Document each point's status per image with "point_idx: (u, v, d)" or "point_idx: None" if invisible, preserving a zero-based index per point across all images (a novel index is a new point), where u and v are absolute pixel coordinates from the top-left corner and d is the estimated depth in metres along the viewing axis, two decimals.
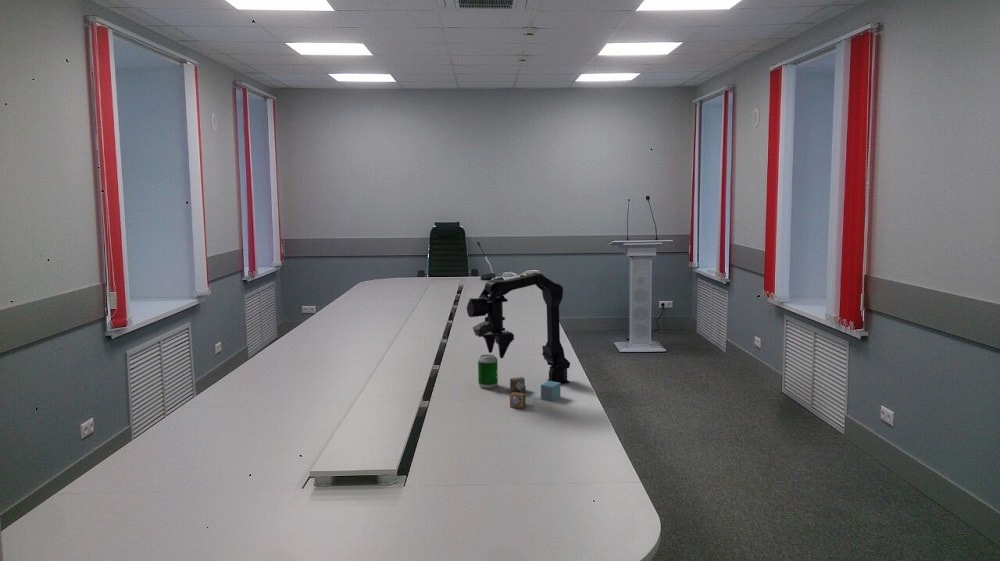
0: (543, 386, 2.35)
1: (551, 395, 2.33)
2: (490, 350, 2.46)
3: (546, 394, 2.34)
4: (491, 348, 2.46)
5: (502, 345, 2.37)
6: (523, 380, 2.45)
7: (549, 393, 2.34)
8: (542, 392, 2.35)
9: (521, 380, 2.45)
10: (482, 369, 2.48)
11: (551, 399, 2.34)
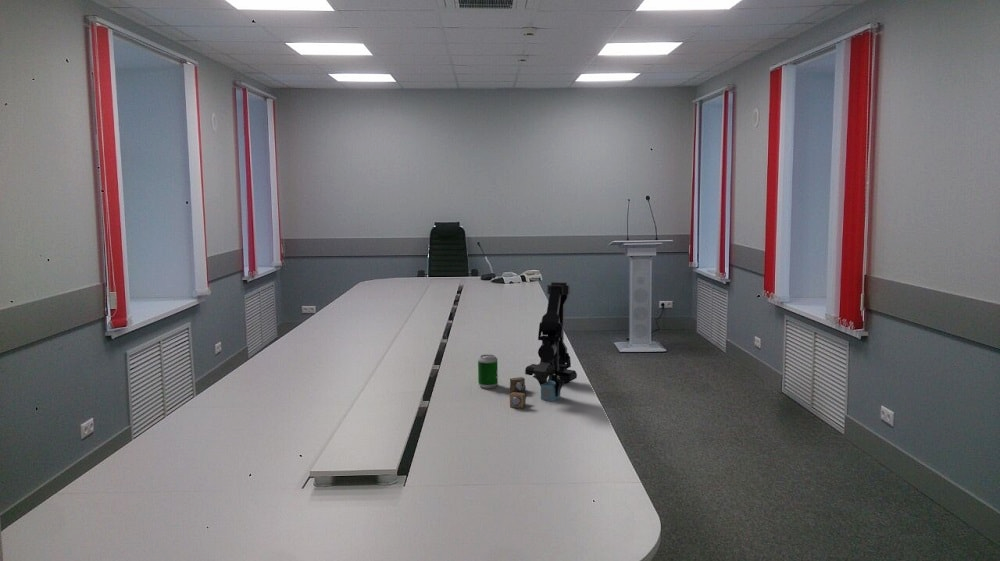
0: (543, 386, 2.35)
1: (551, 395, 2.33)
2: None
3: (546, 394, 2.34)
4: None
5: (559, 383, 2.34)
6: (523, 380, 2.45)
7: (549, 393, 2.34)
8: (542, 392, 2.35)
9: (521, 380, 2.45)
10: (482, 369, 2.48)
11: (551, 399, 2.34)
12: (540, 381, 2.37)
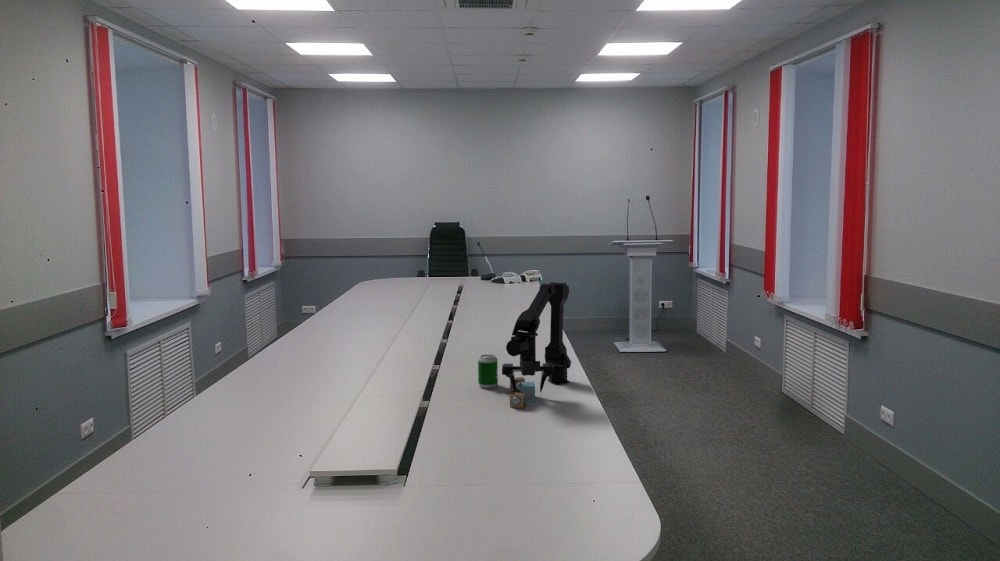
0: (524, 387, 2.33)
1: (533, 395, 2.34)
2: (515, 389, 2.37)
3: (528, 395, 2.34)
4: (515, 387, 2.37)
5: None
6: (523, 380, 2.45)
7: (531, 393, 2.34)
8: None
9: (521, 380, 2.45)
10: (482, 369, 2.48)
11: (533, 399, 2.34)
12: (513, 379, 2.35)
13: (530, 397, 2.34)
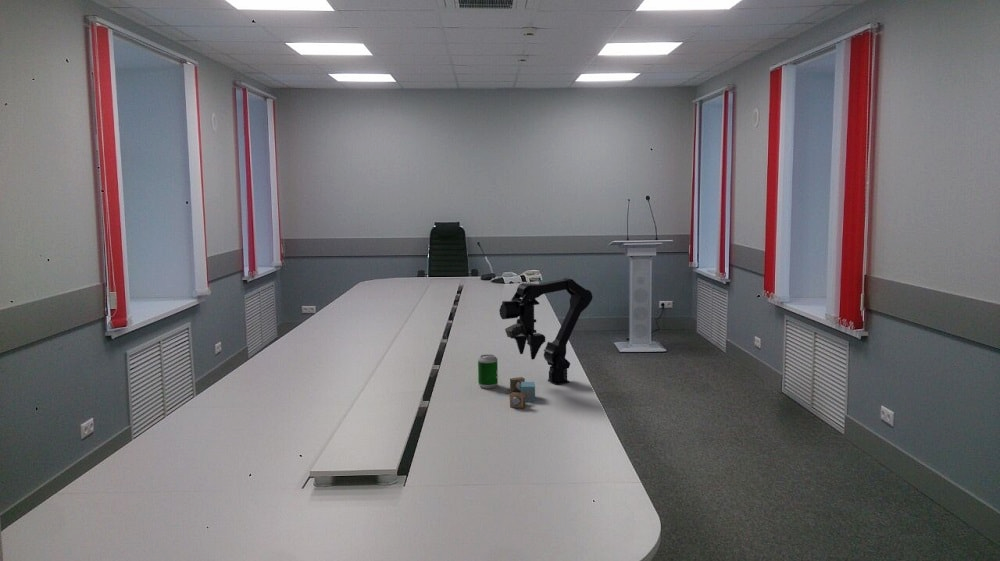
0: (524, 387, 2.33)
1: (533, 395, 2.34)
2: (521, 351, 2.53)
3: (528, 395, 2.34)
4: (522, 349, 2.53)
5: (534, 347, 2.43)
6: (523, 380, 2.45)
7: (531, 393, 2.34)
8: None
9: (521, 380, 2.45)
10: (482, 369, 2.48)
11: (533, 399, 2.34)
12: (516, 341, 2.53)
13: (530, 397, 2.34)
